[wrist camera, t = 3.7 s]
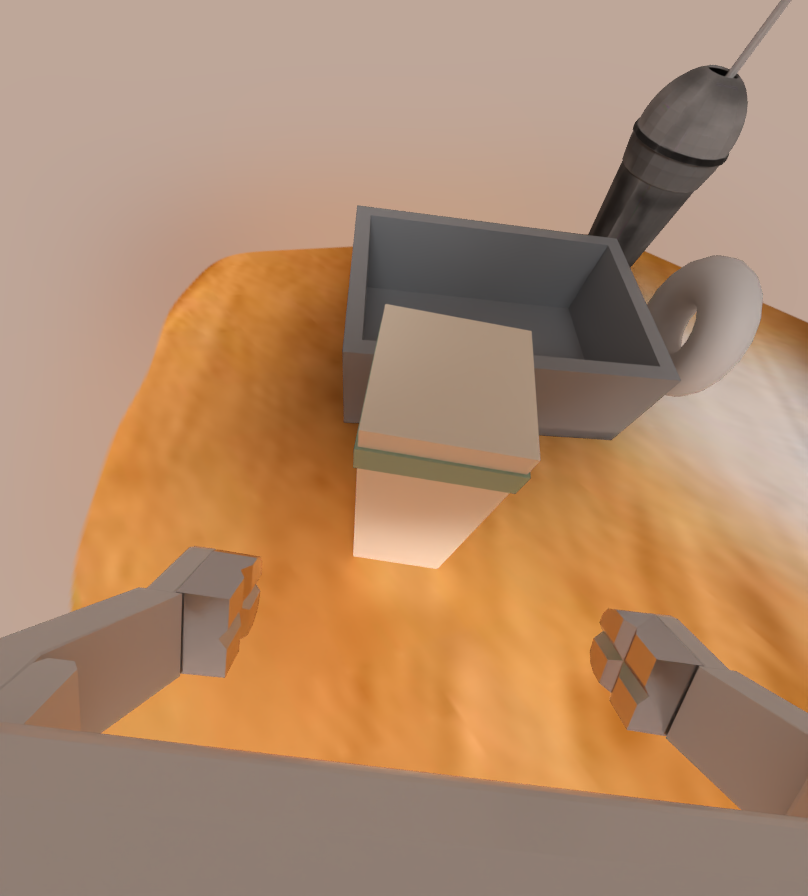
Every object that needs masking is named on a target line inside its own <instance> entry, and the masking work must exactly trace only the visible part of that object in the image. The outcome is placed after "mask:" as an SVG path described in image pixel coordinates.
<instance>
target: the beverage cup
mask: <svg viewBox="0 0 808 896" xmlns="http://www.w3.org/2000/svg"><path fill="white" fill-rule="evenodd" d="M790 1H791V0H781V1H780V2H779V4H778V5H777V6H776V8H775V9H774V10H773V12H772V13H771V15H770V16H769V17H768V18H767V20H766V21H765V23H764V24H763V25H762V27H761V28H760V30H759V31H758V32H757V34H756V35H755V36H754V38H753V39H752V40H751V42H750V43H749V44H748V46H747V47H746V49H745V50H744V51H743V53H742V54H741V55H740V57H739V58H738V59H737V61H736V62H735V64H734V65H733V66H732V68H731V69H727V68H724V67H721V66H717V65H709V66H702V67H698V68H696V69H693V70H690V71H689V72H687V73H685V74H683V75H681V76H679V77H678V78H676V79H675V80H673V81H672V82H671V83H669V84H668V85H667V86H666V87H664V88H663V89H662V90H661V91H660V92H659V93H658V94H657V95H656V96H655V97H654V99H653V100H652V101H651V102H650V103H649V105H648V106H647V107H646V109H645V110H644V112H643V114H642V115H641V117H640V118H639V119H638V120H637V121H636V122H635V124H634V127H633V133H632V135H631V137H630V139H629V142H628V145H627V147H626V150H625V153H624V156H623V161H622V163H621V165H620V167H619V170H618V172H617V174H616V176H615V178H614V180H613V182H612V185H611V187H610V189H609V191H608V193H607V195H606V198H605V200H604V202H603V204H602V206H601V208H600V211H599V213H598V215H597V217H596V219H595V221H594V223H593V226H592V228H591V230H590V232H589V234H588V235H591V236H599V237H607V238H615V239H617V240H618V243H619V245H620V247H621V249H622V251H623V254H624V256H625V258H626V260H627V262H628V265H629V267H631V266H632V265H633V264H634V263H635V261H636V260H637V259H638V258H639V257H640V255H641V254H642V253H643V252H644V251H645V249H646V248H647V247H648V246H649V245H650V243H651V242H652V241H653V240H654V238H655V237H656V236H657V235H658V234H659V232H660V231H661V230H662V229H663V228H664V226H665V225H666V224H667V223H668V222H669V221H670V219H671V218H672V217H673V216H674V214H675V213H676V212H677V211H678V210H679V209H680V207H681V206H682V205H683V204H684V203H685V201H686V200H687V199H688V198H689V197H690V195H691V194H692V193H693V192H694V191H695V190H697V189H698V188H699V187H700V186H701V185H702V183H704V182H705V180H707V179H708V178H709V176H710V175H711V174H713V172H714V171H715V170H716V169H717V167H718V166H719V165H722V164H723V163H724V162H725V161H726V159H727V157H728V155H729V152H730V150H731V149H732V148H733V146H734V144H735V143H736V141H737V139H738V137H739V135H740V133H741V130H742V128H743V125H744V122H745V118H746V113H747V103H748V102H747V92H746V88H745V85H744V82H743V81H742V79H741V78H740V76H739V75H738V74H737V72H738V71H739V70H740V68H741V67H742V66H743V64H744V63H745V62H746V60H747V59H748V58H749V56H750V55H751V54H752V52H753V51H754V50H755V48H756V47H757V46H758V44H759V43H760V42H761V40H762V39H763V38H764V36H765V35H766V33H767V32H768V31H769V30H770V28H771V27H772V26H773V24H774V23H775V22H776V20H777V19H778V18H779V16H780V15H781V14H782V12H783V11H784V9H785V8H786V7H787V5H788V4H789V3H790Z"/></svg>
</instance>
